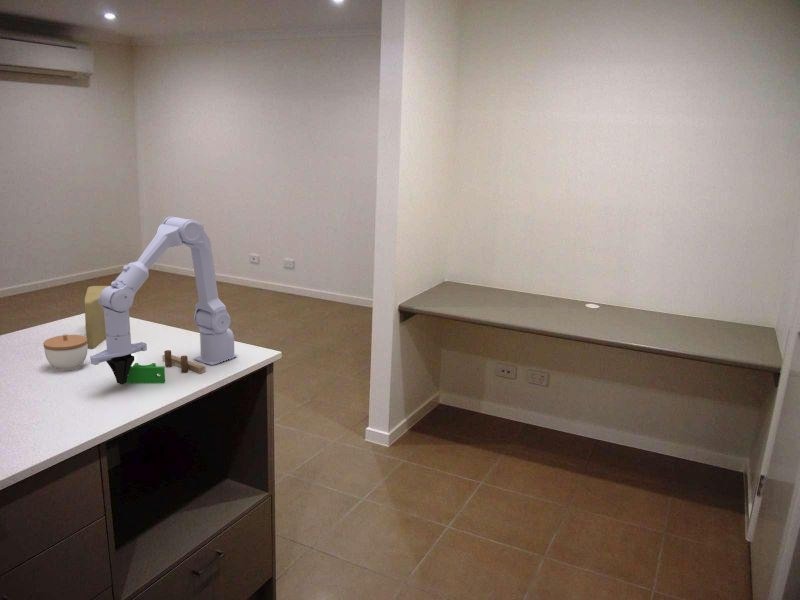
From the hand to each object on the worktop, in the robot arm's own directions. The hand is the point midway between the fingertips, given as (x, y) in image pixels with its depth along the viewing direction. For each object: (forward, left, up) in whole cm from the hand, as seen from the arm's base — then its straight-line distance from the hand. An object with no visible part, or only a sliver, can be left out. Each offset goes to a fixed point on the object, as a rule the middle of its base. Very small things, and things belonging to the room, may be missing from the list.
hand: (121, 383), depth 157 cm
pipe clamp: (-6, +1, -2) cm, 7 cm away
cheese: (-19, -41, -2) cm, 45 cm away
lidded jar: (0, -24, -1) cm, 24 cm away
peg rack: (-18, 0, -1) cm, 18 cm away
